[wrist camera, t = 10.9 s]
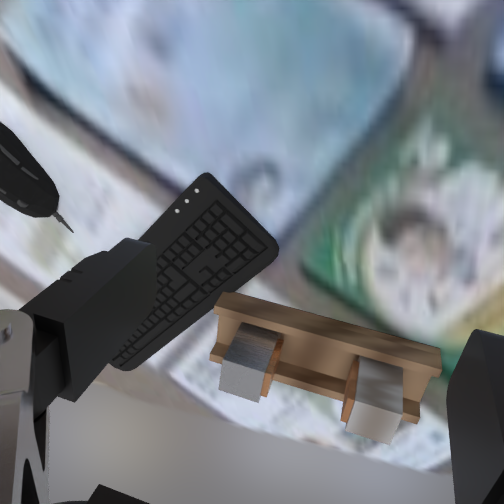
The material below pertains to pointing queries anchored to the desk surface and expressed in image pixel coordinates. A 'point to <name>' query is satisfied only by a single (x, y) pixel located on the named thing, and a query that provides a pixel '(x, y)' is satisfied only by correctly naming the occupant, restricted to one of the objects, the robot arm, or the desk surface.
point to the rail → (339, 362)
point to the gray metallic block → (251, 362)
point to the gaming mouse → (25, 180)
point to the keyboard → (196, 263)
